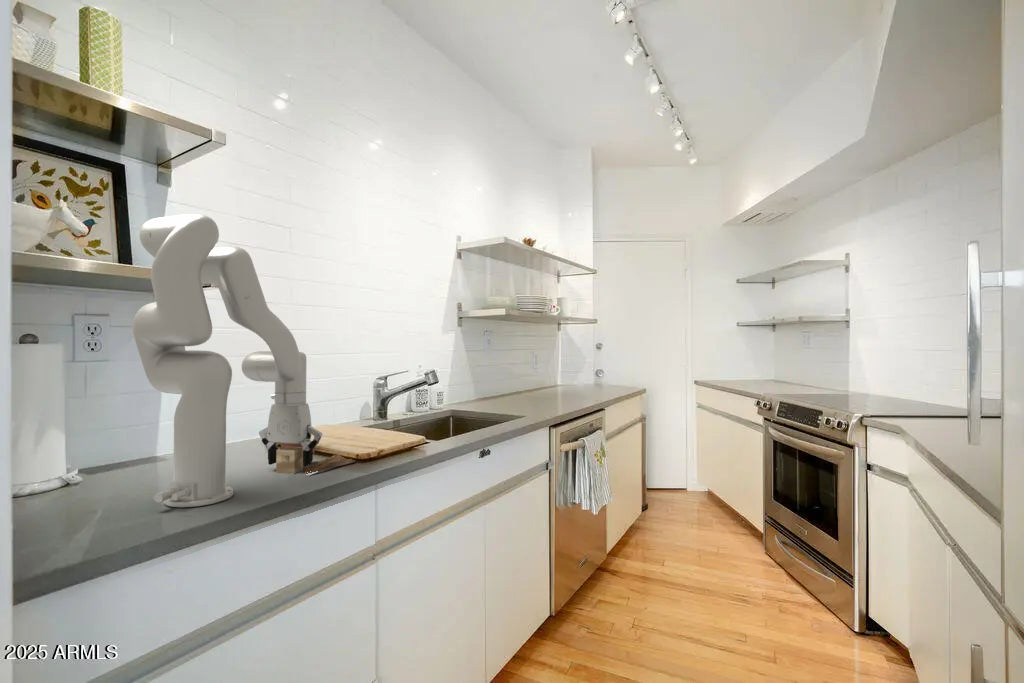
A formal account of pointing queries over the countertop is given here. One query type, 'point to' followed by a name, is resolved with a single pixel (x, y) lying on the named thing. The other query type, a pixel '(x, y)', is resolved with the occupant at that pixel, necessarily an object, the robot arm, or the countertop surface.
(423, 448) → the countertop surface
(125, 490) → the countertop surface
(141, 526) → the countertop surface
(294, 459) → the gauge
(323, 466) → the wooden fragment
